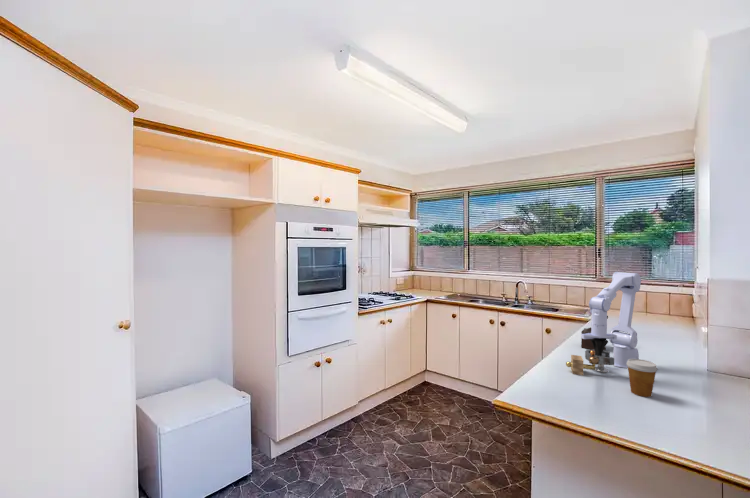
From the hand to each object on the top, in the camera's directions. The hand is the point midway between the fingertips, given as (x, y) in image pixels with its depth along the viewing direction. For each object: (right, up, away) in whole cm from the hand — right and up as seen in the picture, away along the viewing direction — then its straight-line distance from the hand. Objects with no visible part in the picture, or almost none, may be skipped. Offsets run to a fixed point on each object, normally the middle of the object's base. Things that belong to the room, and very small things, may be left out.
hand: (598, 355), depth 153 cm
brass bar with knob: (-7, -6, +1) cm, 9 cm away
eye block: (-8, -8, +2) cm, 12 cm away
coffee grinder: (+24, -8, +40) cm, 47 cm away
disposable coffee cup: (+4, -9, -20) cm, 22 cm away
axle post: (+4, -8, +5) cm, 10 cm away
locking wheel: (+3, -4, +5) cm, 7 cm away
